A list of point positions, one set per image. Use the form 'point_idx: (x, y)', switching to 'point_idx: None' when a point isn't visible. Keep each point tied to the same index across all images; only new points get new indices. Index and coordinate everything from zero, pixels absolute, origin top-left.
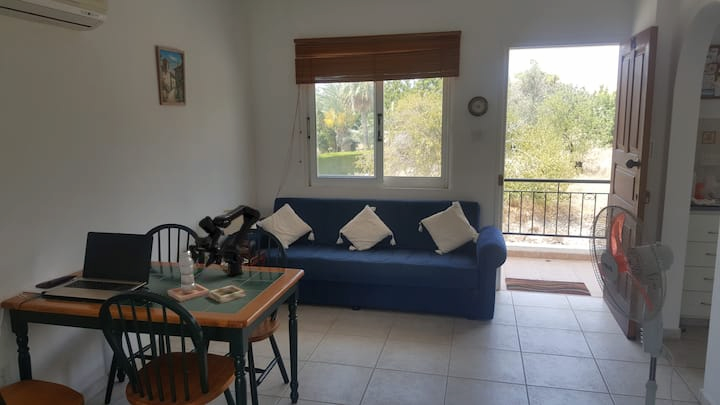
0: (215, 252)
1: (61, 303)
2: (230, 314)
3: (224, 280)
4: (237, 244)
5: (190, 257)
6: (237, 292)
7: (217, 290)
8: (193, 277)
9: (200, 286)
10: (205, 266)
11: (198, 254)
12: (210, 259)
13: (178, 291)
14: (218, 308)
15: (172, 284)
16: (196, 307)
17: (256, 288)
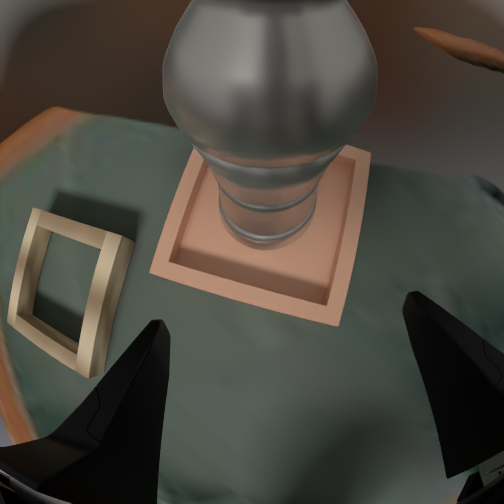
0: (16, 492)
1: (485, 52)
2: (2, 169)
3: (272, 477)
4: None
5: (190, 31)
6: (14, 291)
7: (94, 276)
8: (222, 195)
9: (255, 295)
10: (151, 320)
11: (466, 469)
12: (86, 405)
13: (345, 203)
14: (37, 174)
15: (471, 285)
16: (105, 132)
17: (49, 417)
